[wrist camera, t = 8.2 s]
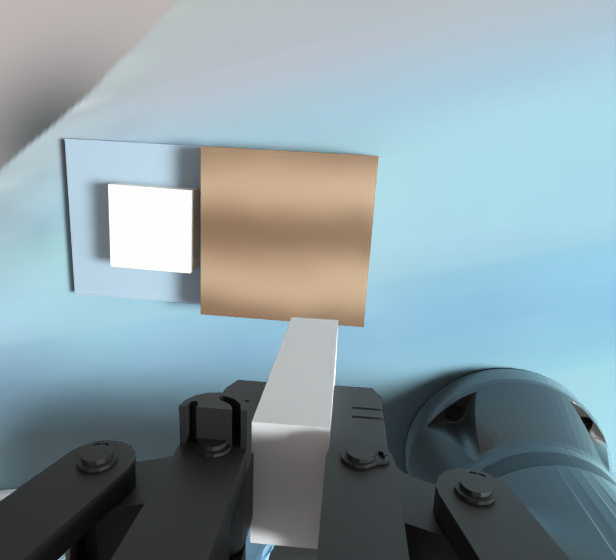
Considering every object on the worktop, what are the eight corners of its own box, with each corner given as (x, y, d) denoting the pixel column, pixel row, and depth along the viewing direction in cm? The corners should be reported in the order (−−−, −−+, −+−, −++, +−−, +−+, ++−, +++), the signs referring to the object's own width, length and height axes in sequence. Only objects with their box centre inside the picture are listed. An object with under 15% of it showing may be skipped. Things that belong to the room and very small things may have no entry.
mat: (211, 302, 39) (209, 304, 39) (78, 292, 40) (74, 294, 39) (212, 146, 36) (210, 146, 36) (69, 139, 37) (64, 138, 36)
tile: (198, 267, 38) (189, 273, 36) (122, 260, 38) (110, 266, 36) (199, 188, 36) (190, 190, 35) (120, 182, 37) (108, 184, 35)
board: (362, 314, 38) (363, 327, 36) (211, 302, 39) (200, 314, 36) (376, 156, 35) (378, 156, 33) (212, 146, 36) (200, 146, 33)
